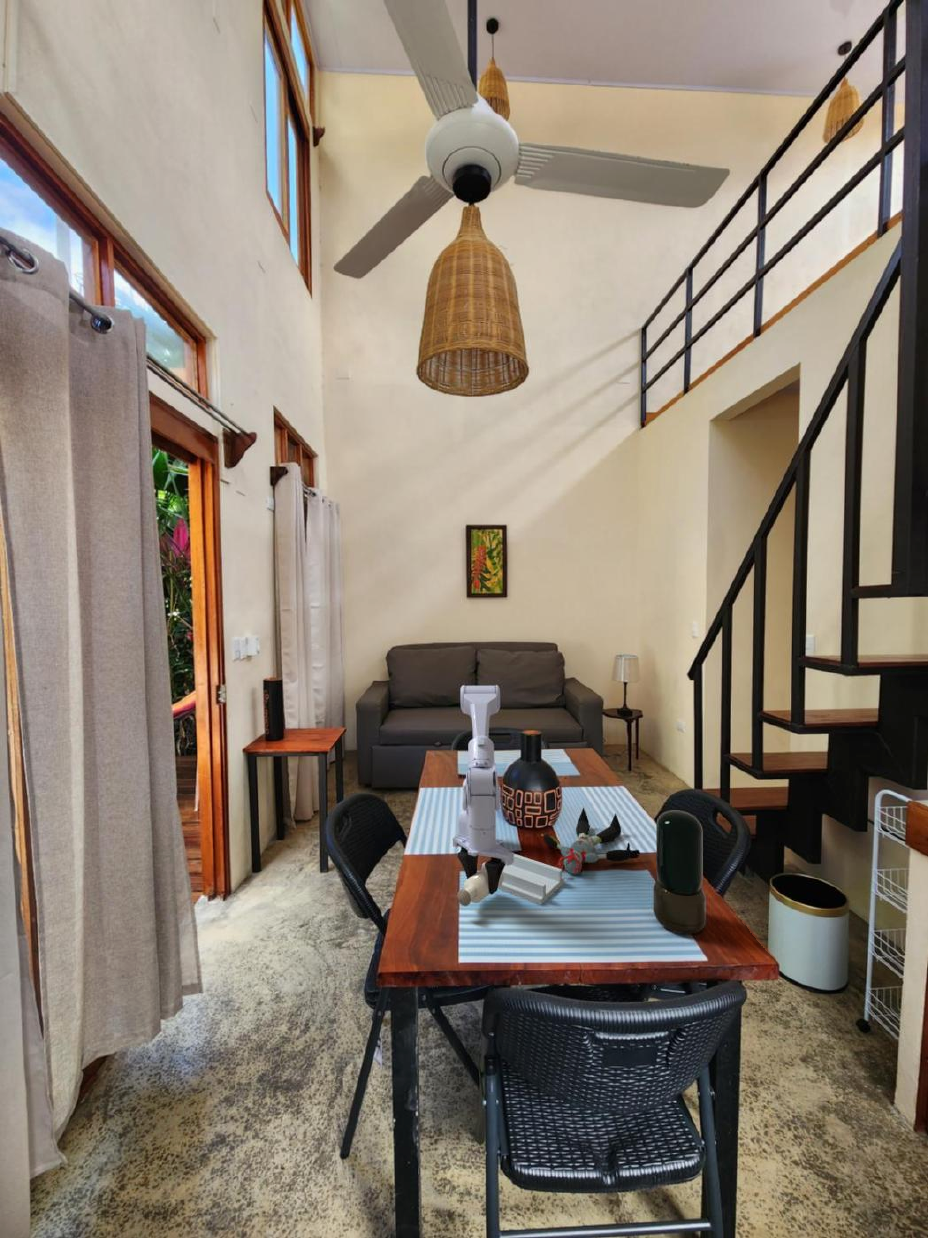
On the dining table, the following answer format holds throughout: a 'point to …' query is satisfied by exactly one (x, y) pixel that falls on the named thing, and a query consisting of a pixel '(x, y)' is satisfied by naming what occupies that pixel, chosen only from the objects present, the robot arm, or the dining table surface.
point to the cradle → (531, 879)
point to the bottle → (476, 888)
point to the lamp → (679, 873)
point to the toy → (589, 846)
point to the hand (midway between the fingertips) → (482, 887)
